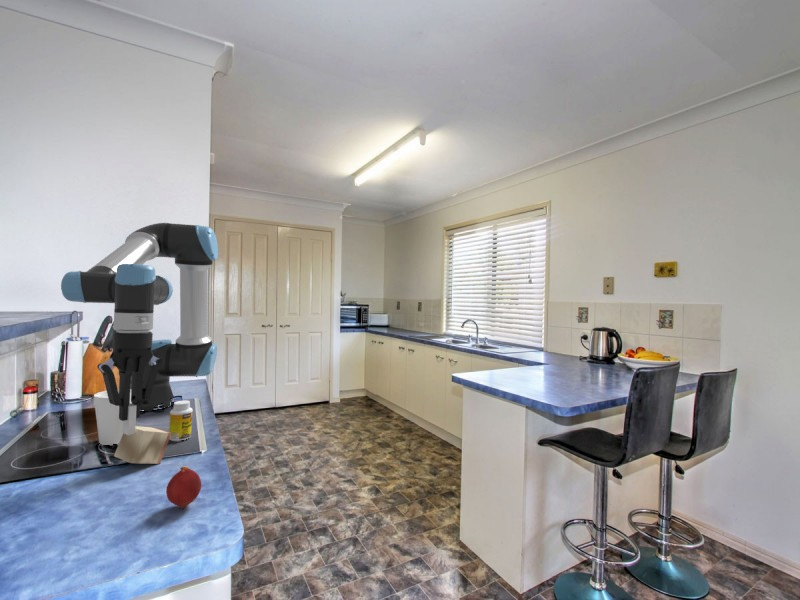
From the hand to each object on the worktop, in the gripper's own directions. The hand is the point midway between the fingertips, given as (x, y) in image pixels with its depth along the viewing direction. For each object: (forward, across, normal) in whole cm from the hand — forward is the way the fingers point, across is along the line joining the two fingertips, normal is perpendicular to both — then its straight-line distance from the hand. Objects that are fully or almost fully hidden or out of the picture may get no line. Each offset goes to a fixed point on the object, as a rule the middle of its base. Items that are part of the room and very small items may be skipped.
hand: (128, 433), depth 88 cm
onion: (+8, -2, -26) cm, 27 cm away
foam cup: (+8, +6, +20) cm, 23 cm away
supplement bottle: (+8, +17, +8) cm, 21 cm away
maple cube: (+2, 0, 0) cm, 2 cm away
